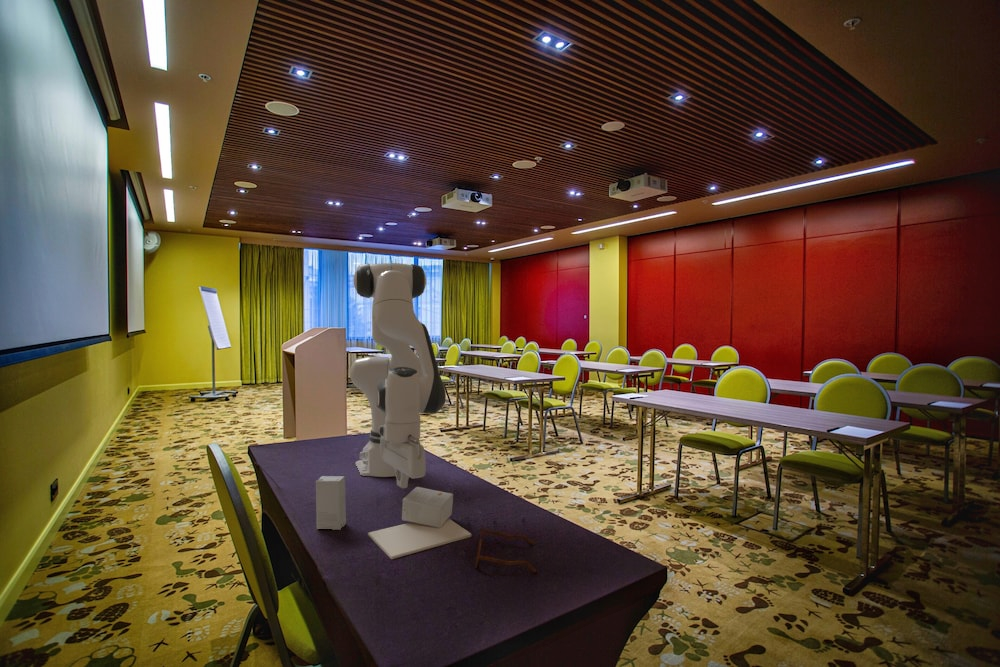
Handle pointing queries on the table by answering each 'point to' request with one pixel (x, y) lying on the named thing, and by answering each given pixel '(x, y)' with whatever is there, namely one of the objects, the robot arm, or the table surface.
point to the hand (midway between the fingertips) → (402, 486)
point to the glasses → (499, 559)
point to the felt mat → (416, 537)
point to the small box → (427, 507)
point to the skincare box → (330, 502)
